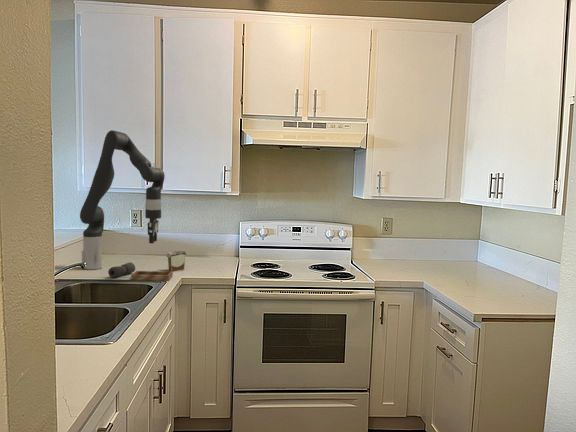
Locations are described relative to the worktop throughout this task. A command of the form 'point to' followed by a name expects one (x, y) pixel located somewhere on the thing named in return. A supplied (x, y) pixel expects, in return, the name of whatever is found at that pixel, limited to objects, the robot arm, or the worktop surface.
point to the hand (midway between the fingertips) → (153, 242)
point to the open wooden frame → (152, 275)
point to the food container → (176, 260)
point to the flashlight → (122, 269)
